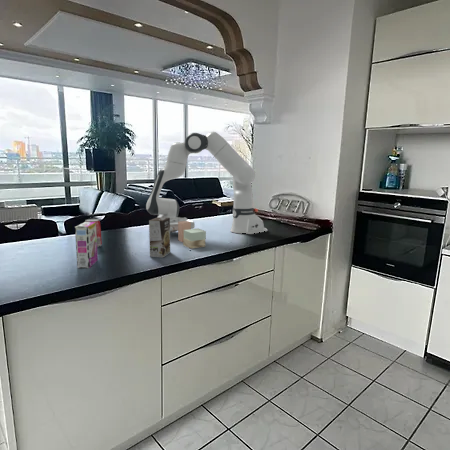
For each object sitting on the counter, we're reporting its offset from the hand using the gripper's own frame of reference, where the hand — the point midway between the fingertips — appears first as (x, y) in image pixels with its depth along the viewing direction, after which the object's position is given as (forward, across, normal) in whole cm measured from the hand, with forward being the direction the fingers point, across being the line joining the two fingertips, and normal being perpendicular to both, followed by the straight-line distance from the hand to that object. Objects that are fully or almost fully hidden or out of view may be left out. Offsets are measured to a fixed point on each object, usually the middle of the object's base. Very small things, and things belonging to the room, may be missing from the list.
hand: (181, 228), depth 177 cm
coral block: (+4, 0, +6) cm, 7 cm away
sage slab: (+16, 0, +2) cm, 16 cm away
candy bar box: (+23, -50, +6) cm, 55 cm away
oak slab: (+16, 0, +6) cm, 17 cm away
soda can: (-6, -43, +6) cm, 44 cm away
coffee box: (+23, -20, +6) cm, 31 cm away
